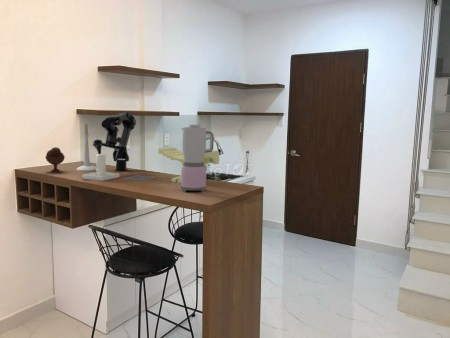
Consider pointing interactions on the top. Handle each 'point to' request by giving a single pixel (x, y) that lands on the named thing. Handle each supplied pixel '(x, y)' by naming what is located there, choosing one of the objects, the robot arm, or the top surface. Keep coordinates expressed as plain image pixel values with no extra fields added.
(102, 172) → the rolled placemat
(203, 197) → the top surface
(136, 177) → the rubber mat
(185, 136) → the blender
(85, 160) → the candlestick
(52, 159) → the ice cream bowl
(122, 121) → the robot arm
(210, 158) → the slatted curved stool
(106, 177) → the grey tray
